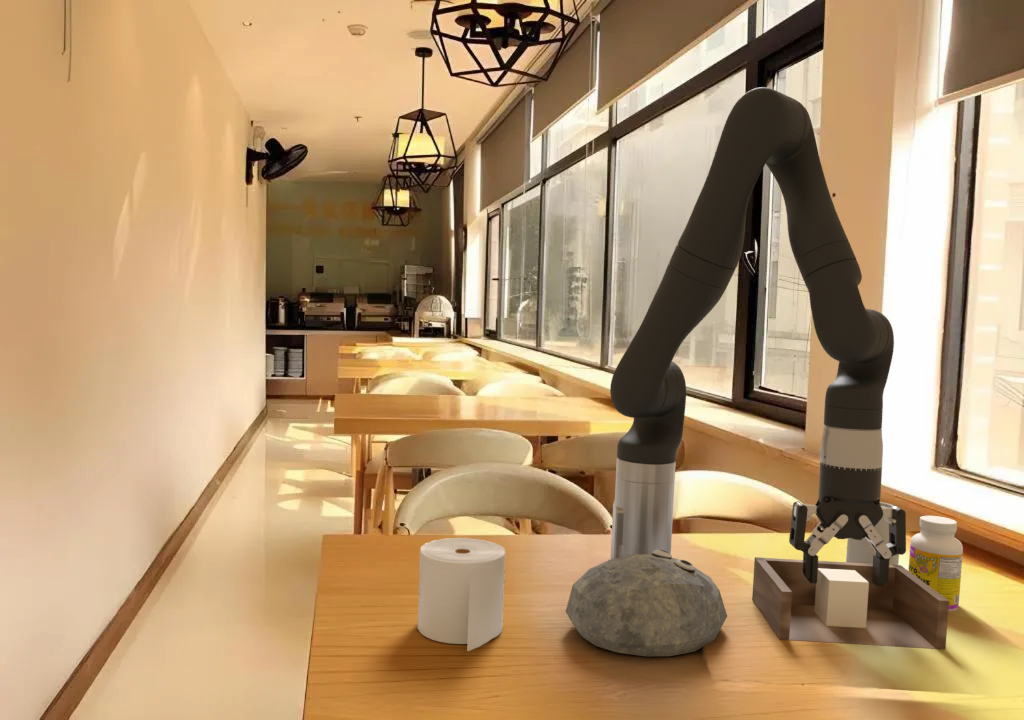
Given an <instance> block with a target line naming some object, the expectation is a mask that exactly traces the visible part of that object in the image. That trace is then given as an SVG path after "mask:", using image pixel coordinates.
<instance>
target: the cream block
mask: <svg viewBox="0 0 1024 720" xmlns="http://www.w3.org/2000/svg"><path fill="white" fill-rule="evenodd" d="M868 589H869V582H868V581H867V580H865V579H864V578H863V577H862V576H861V575H860V574H859V573H857V572H856V571H855V570H841V569H823V568H818V575H817V583H816V594H815V609H814V612H815V613H816V614H817V615H818V616H819V618H820V619H821V620H822V621H823V622H824V623H825V625H826V626H840V627H857V628H866V618H867V604H868Z"/></svg>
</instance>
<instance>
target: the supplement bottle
mask: <svg viewBox="0 0 1024 720" xmlns="http://www.w3.org/2000/svg"><path fill="white" fill-rule="evenodd" d="M957 526H958V522H957V521H956V520H954V519H952V518H948V517H945V516H938V515H923V516H920V517H919V527H920V532H918V533H916V534H914V535H913V536H912V537H911V539H910V547H909V558H908V561H909V562H908V569H907V570H908V571H909V572H910V573H912V574H913V575H915V576H916V577H917V578H919V579H920V580H921V581H923V582H924V583H925V584H927V585H928V586H929V587H931V588H932V589H934V590H935V591H936V592H938V593H939V594H940V595H942V596H943V597H944V598H946V599H947V600H948V601H949V609H948V612H955V611H958V609H959V604H960V592H961V578H962V568H963V567H962V565H963V564H962V563H963V554H964V546H963V544H962V542H961V541H960V540H959V539H957V538H956V537H955V534H956V532H957V530H958V527H957Z"/></svg>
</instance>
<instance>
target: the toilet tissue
mask: <svg viewBox="0 0 1024 720" xmlns="http://www.w3.org/2000/svg"><path fill="white" fill-rule="evenodd" d="M419 552H420V553H419V573H418V574H419V575H418V576H419V582H418V601H417V603H418V604H417V605H418V609H417V630H418V632H419V633H420V634H421V635H422V636H424V637H426V638H428V639H429V640H433V641H436V642H440V643H445V644H453V645H467V646H466V647H467V648H466V652H470V651H472V650H474V649H477V648H480V647H481V646H483V645H485V644H487V643H488V642H489V641H491V640H492V639H494V638H496V637H498V636H499V635H500V634H501V633H502V630H503V623H504V619H503V618H504V617H503V615H504V597H505V596H504V593H505V582H506V581H505V574H506V569H505V568H506V549H505V548H504V547H503V546H501V545H500V544H498V543H495V542H494V541H493V542H492V541H488V540H484V539H478V538H468V537H467V538H466V537H456V538H455V537H453V538H452V537H451V538H449V537H446V538H442V539H435V540H431V541H430V542H425V543H424V544H423V545H421V546H420V551H419Z"/></svg>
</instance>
